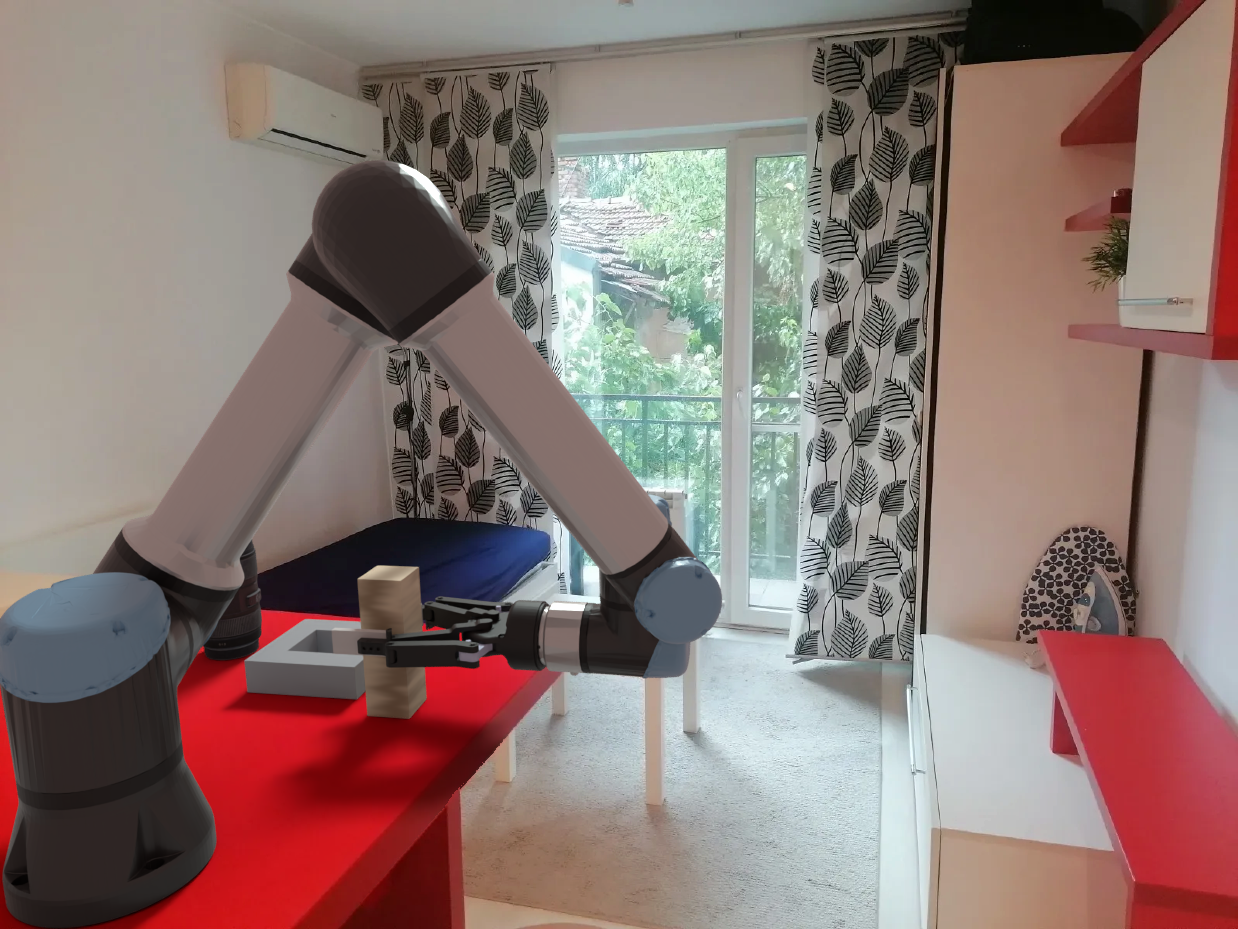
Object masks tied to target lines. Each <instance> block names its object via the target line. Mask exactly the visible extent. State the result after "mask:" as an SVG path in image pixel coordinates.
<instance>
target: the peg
mask: <svg viewBox="0 0 1238 929" xmlns="http://www.w3.org/2000/svg"><path fill="white" fill-rule="evenodd" d="M420 579H421V578H420V566H403V565H402V566H399V565H376V566H374V567H373V568H372V569H370V570H368V571H367V572H366V573H364V574H363V575H361V576H359V577H358V578H357V590H358V591H357V593H358V607H359V617H360V618H359V619H360V620H359V622H361V629H372V630H387V629H389V628H392V634H393V635H394V634H404V633H414V632H424V631H423V630H424V628H423V626H422V612H421V603H422V596H421V582H420V581H421V580H420ZM363 663H364V677H365V690H366V691H365V699H366V700H365V702H366V716H368V717H378V718H379V717H381V718H392V719H393V718H395V719H405V720H406V719H410V718H412V716H413V715H414V714H415V713H416V712H417V710H419V709H420V707H421V706H422V705H423V704H424V702H426V700H427V698H428V697H427V682H426V680H427V679H426V669H425V668H426V667H404V668H389V667H387V666H386V657H383V656H365V655H363Z"/></svg>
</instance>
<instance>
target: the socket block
mask: <svg viewBox="0 0 1238 929" xmlns="http://www.w3.org/2000/svg"><path fill="white" fill-rule="evenodd" d="M334 628H353V629H361V621H357V620H356V621H355V620H336V619H335V620H334V619H333V620H331V619H318V618H317V619H314V618H313V619H312V618H305V619H303V620H301V621H300V622H299V623H296V625H294V626H293V627H291V628H290V629H288V630H287V631H285V632H283V634H281V635H279V636H278V637H277V638H275V639H274V640H272V641H271V642H270V643H268V644H267V645H265V646H264V647H262V648H261V649H258V650H257V651H255V652H254V654H253V653H252V654H251V655H250V656H249V657H247V658H246V659H245V660H243V661H244V670H245V671H244V672H245V682H246V692H247V693H256V694H270V695H287V696H301V697H313V698H314V697H316V698H327V699H329V698H332V699H333V698H334V699H345V700H346V699H347V700H358V699H359V698H361V696H362V695H363V694H364V693H366V690H365V677H364V663H363V655H347V654H333V642H332V629H334Z"/></svg>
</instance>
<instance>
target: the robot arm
mask: <svg viewBox="0 0 1238 929" xmlns="http://www.w3.org/2000/svg"><path fill="white" fill-rule="evenodd" d="M324 185H325V184H324ZM311 232H312V233H311V234H310V236H309V238H308V239H307V241H306V242H305V243H304V245H303V247H302V248H301V250H300V251H299V253H298V254H297V256H296V258H295V259H294V261H293V262H292V264H291V265H290V266H289V269H288V270H287V271H286V278H287V283H288V286H289V290H290V291H289V292H290V300H289V302H288V303H287V305H286V306H285V308H284V309H283V311H282V313H281V314H280V316H279V318H278V319H277V321H276V322H275V323H274V325H273V327H272V328H271V330H270V331H269V333H268V335H267V336H266V338H265V339H264V341H263V342H262V344H261V345H260V347H259V348H258V350H257V352H256V353H255V355H254V356H253V357H252V359H251V361H250V363H249V364H248V365H247V367H246V368H245V370H244V372H243V373H242V375H241V376H240V378H239V380H238V381H237V383H236V384H235V386H234V387H233V389H232V390H231V392H230V393H229V395H228V396H227V398H226V400H225V401H224V402H223V404H222V405H221V408H220V409H219V411H218V412H217V413H216V415H215V417H214V418H213V419H212V421H211V423H210V424H209V425H208V426H209V427H208V428H207V429H206V430H205V431H204V434H203V436H202V437H201V439H200V440H199V441H198V443H197V445H196V446H195V448H194V449H193V451H192V452H191V454H190V455H189V457H188V458H187V459H186V462H185V464H183V467H182V468H181V469H180V471H179V472H178V474H177V476H176V477H175V479H174V480H173V481H172V483H171V485H170V487H169V488H168V490H167V491H166V492H165V494H164V495H163V497H162V499H161V500H160V502H159V503H158V505H157V506H156V508H155V510H154V511H153V513H151V514H150V515H145V516H139V517H137V518H132V519H129V520H127V521H126V522H125V523H124V524H123V527H122V528H121V530H120V531H119V532H118V535H117V536H116V537H115V539H114V540H113V542H112V544H111V545H110V547H109V548H108V549H107V551H106V552H105V554H104V556H103V557H102V559H100V561H99V563H98V565H97V567H96V568H95V569H94V571H93V573H92V574H85V575H81V576H79V575H78V576H75V577H71V578H65V579H62V580H59V581H57V582H53V583H51V585H50V587H44V588H37V589H36V590H34V591H32V592H29V593H27V594H26V595H23V596H22V597H21V598H19V599H18V600H16V601H15V602H14V603H12V604H11V605H10V606H9V607H8V608H7V609H6V610H5V611H4V612H3V614H2V615H1V616H0V695H1V701H2V708H3V712H4V718H5V724H6V732H7V737H8V742H9V749H10V755H11V756H10V757H11V759H12V760H11V761H12V766H13V773H14V779H15V786H16V793H17V799H18V806H17V808H16V810H17V811H16V814H15V818H14V823H13V827H12V832H11V834H10V839H9V843H8V847H7V852H6V856H5V861H4V864H3V868H2V886H3V891H4V892H3V893H4V898H5V906H6V908H7V910H8V912H9V913H10V914H11V916H13V917H14V918H15V919H16V920H18V921H20V922H22V923H24V924H27V925H31V926H34V927H39V928H40V927H41V928H45V929H47V928H48V929H49V928H50V929H65V928H66V929H67V928H69V929H70V928H76V927H77V928H78V927H86V926H90V925H96V924H100V923H104V922H108V921H111V920H115V919H118V918H122V917H124V916H127V915H131V914H132V913H136V912H137V911H141V910H143V909H145V908H147V907H149V906H151V905H153V904H155V903H157V902H159V901H161V900H163V899H165V898H166V897H169V896H170V895H171V894H173V893H175V892H176V891H178V890H180V889H182V887H184V886H185V885H186V884H188V883H189V882H190V881H191V880H192V879H194V878H195V877H196V876H197V875H198V874H199V873H200V872H201V871H202V870H203V869H204V868H205V866H206V865H207V864H208V863H209V861H210V859H211V858H212V857H213V855H214V852H215V850H216V847H217V831H216V824H215V822H216V821H215V817H214V816H215V814H214V813H213V809H212V807H211V805H210V803H209V802H208V799H207V798H206V797H205V794H204V793H203V791H202V789H201V787H200V784H199V783H198V781H197V779H196V778H195V776H194V774H193V772H192V770H191V768H190V767H189V765H188V764H187V762H186V759H185V755H184V746H183V738H182V730H181V728H182V727H181V720H180V711H179V703H178V686H179V684H180V683H181V682H182V679H183V678H184V676H185V675H186V673H187V671H188V670H189V668H190V667H191V665H192V663H193V661H194V659H196V657H197V655H198V653H199V652H200V651H201V650H202V648H204V647H203V645H204V644H205V643H206V642H207V641H208V639H209V638H210V636H211V635H212V633H213V631H214V630H215V628H216V626H217V623H218V621H219V619H220V618H221V616H222V615H223V613H224V612H225V610H226V609H227V607H228V605H229V604H230V602H231V601H232V599H233V598H234V596H235V594H236V593H237V591H238V589H239V588H240V586H241V585H242V583H243V581H244V573H243V570H242V567H241V564H240V557H241V555H242V553H243V552H244V550H245V549H246V547H247V546H248V544H249V543H250V541H251V540H252V541H253V538H254V537H255V535H256V533H257V531H258V530H259V529H260V527H261V526H262V524H263V522H264V521H265V520H266V518H267V517H268V515H269V513H270V512H271V510H272V508H273V507H274V506H275V504H276V503H277V501H278V499H279V498H280V496H282V495H281V494H282V493H283V492H284V490H285V489H286V487H287V485H288V484H289V483H290V481H291V479H292V478H293V477H294V475H295V473H296V472H297V470H298V469H299V467H300V465H302V463H303V461H304V459H305V458H306V456H307V455H308V453H309V451H310V450H311V449H312V447H313V445H315V442H316V440H317V439H318V438H319V436H320V435H321V434H322V432H323V430H324V429H325V427H326V426H327V423H328V422H329V421H330V420H331V417H332V416H333V415H334V413H335V411H336V410H337V408H338V407H339V405H340V404H341V402H342V401H343V399H344V398H345V397H346V394H347V393H348V391H349V390H350V388H351V387H352V386H353V384H354V382H355V381H356V379H357V378H358V376H359V374H361V372H362V370H363V368H364V367H365V366H366V364H367V362H368V361H369V360H370V358H371V356H372V355H373V353H374V352H375V351H377V350H379V349H383V348H387V347H392V346H397V345H399V346H400V347H401V348H406V349H407V348H408V349H414V350H417V351H420V352H421V353H422V354H423V356H424V357H426V359H427V360H428V362H429V363H430V364H431V365H432V366H433V368H434V369H435V370H436V372H438V374H439V375H440V377H442V379H443V380H444V381H445V382H446V383H447V385H449V386H448V387H449V388H451V390H452V391H453V392H454V393H455V394H456V396H457V397H458V398H459V400H460V401H461V402H462V403H463V404H464V405H465V407H467V409H468V410H469V412H470V413H471V414H472V415H473V416H474V417H475V419H476V420H477V421H478V422H479V423H480V425H481V426H482V427H483V428H484V430H485V431H486V432H487V434H488V435H489V436H490V437H491V438H492V440H493V441H494V442H495V443H496V444H497V446H498V447H499V448H500V450H502V452H503V453H504V455H506V457H507V458H508V460H510V462H512V464H513V465H514V466H515V468H516V469H517V470H518V471H519V473H520V474H521V475H522V476H523V478H525V480H526V482H528V483H529V485H530V486H531V487H532V488H533V490H534V491H535V492H536V493H537V494H538V495H539V498H540V499H542V500H543V502H544V503H545V504H546V505H547V507H548V508H549V509H550V510H551V512H553V514H554V515H555V516H556V518H557V519H558V520H559V522H560V523H561V524H562V525H563V527H565V529H566V531H568V532H569V533H570V535H571V536H572V537H573V538H574V540H575V541H576V542H577V543H578V544H579V545H580V547H581V548H582V549H583V550H584V552H585V554H586V555H588V557H589V559H591V561H592V562H593V563H594V564H595V566H597V568H598V569H599V571H598V572H599V601H600V602H599V603H595V602H588V601H587V602H584V601H567V600H564V601H561V600H554V601H552V602H551V604H549V603H548V602H546V601H545V600H529V599H527V600H526V599H525V600H524V599H519V600H516V601H515V602H512V601H496V602H495V601H494V602H493V601H486V600H477V599H468V598H458V597H449V596H437V597H435V598H434V599H435V600H434V601H432V600H430V601H429V600H428V601H426V602H424V604H423V603H422V602H421V612H422V627H423V626H424V622H425V631H423V632H414V633H404V634H394V635H393V634H392V628H389V629H387V630H372V629H353V628H334V629H332V642H333V654H347V655H365V656H383V657H386V666H387V667H389V668H404V667H425V668H450V667H451V668H453V667H454V668H464V669H470V670H471V669H472V670H475V669H478V668H480V667H481V665H480V659H481V658H489V657H494V656H503V657H504V658H505V660H506V662H507V665H508V666H509V668H511V669H513V670H515V671H516V670H517V671H532V672H534V671H535V672H542V671H543V670H544V669H545V668H547V670H548V671H549V672H557V673H559V672H560V673H570V675H571V676H574V677H575V676H578V675H579V674H590V675H591V674H594V675H597V674H598V675H610V676H611V675H612V676H621V677H622V676H623V677H634V678H636V677H637V678H642V679H654V678H655V679H667V678H679V677H682V676H683V675H684V674H685V673H686V672H687V670H688V667H689V663H690V655H691V643H692V642H694V641H697V640H699V639H701V638H702V637H703V636H705V635H706V634H707V632H709V631H711V629H712V628H713V627H714V626H715V624H716V623H717V621H718V620H719V617H720V614H721V612H722V606H723V594H722V589H721V587H720V583H719V581H718V580H717V578H716V577H715V576H714V574H713V573H712V571H711V569H710V568H709V567H708V566H707V564H706V562H703V561H702V560H700V559H698V558H697V556H696V555H695V554H694V553H693V551H691V549H690V548H689V546H688V545H687V543H685V541H684V540H683V539H682V537H681V536H680V535H679V534H678V532H677V530H675V528H674V527H673V522H672V520H671V512H670V511H671V510H670V505H669V503H668V502H669V501H667V500H666V499H665V498H663V497H661V496H659V495H656V494H655V495H654V494H650V493H649V494H648V493H647V491H646V490H645V489H644V487H643V486H642V485H641V484H640V482H639V481H638V479H637V478H636V477H635V476H634V475H633V473H632V472H631V471H630V469H629V468H628V467H627V466H626V464H625V463H624V461H623V460H622V459H621V457H620V456H619V455H618V454H617V452H616V451H615V450H614V448H613V447H612V446H611V445H610V443H609V442H608V440H606V439H607V438H605V437H604V435H603V434H602V432H601V431H600V430H599V429H598V428H597V426H596V425H595V424H594V422H593V421H592V419H590V417H589V416H588V415H587V413H586V412H585V410H584V409H583V408H582V407H581V406H580V404H579V403H578V402H577V400H576V399H575V398H574V396H573V395H572V394H571V392H570V391H569V389H567V387H566V386H565V384H564V383H563V381H561V380H560V378H559V377H558V376H557V374H556V373H555V372H554V371H553V369H552V368H551V366H550V365H549V364H548V363H547V361H546V360H545V359H544V358H543V355H541V354H540V352H539V350H538V349H537V348H536V347H535V346H534V344H533V343H532V342H531V340H530V339H529V338H528V336H526V334H525V333H524V332H523V330H522V329H521V327H520V326H519V325H518V324H517V322H516V321H515V320H514V318H513V317H512V316H511V314H510V313H509V312H508V311H507V308H505V307H504V305H503V304H502V303H501V301H499V298H497V296H496V295H495V293H494V283H495V273H494V272H493V271H492V269H491V268H490V267H489V265H488V264H487V263H486V262H485V260H484V259H483V257H482V256H481V254H479V252H478V250H477V249H476V247H475V245H473V243H472V242H471V240H470V239H469V237H468V236H467V234H466V232H465V230H464V229H463V228H462V225H461V224H460V223H459V221H458V218H457V217H456V215H455V213H454V212H453V210H452V208H451V206H450V205H449V202H448V201H447V200H446V198H445V196H444V195H443V194H442V192H441V190H440V189H439V188H438V187H437V186H436V185H435V184H434V183H433V182H432V181H431V180H430V179H429V177H427V176H426V175H424V174H423V173H421V172H420V171H418V169H415V168H413V167H411V166H408V165H406V164H403V163H401V162H396V161H391V160H386V159H384V160H383V159H374V160H373V159H372V160H364V161H361V162H357V163H354V164H352V165H350V166H348V167H346V168H344V169H342V170H341V171H338V172H337V173H336V174H335V175H334V176H333V177H332V178H331V179H330V180H329V181H328V182H327V183H326V185H325V186H324V187H323V189H322V190H321V192H320V194H319V195H318V197H317V199H316V202H315V206H314V208H313V212H312V219H311ZM433 628H439V629H437V630H436V629H435V630H431V629H433ZM460 637H461V639H460Z"/></svg>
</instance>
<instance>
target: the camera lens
mask: <svg viewBox="0 0 1238 929" xmlns="http://www.w3.org/2000/svg"><path fill="white" fill-rule="evenodd" d="M240 564H241V567H242V570H243V573H244V581H243V583H242V585H241V586H240V588H239V589H238V591H237V593H236V594H235V596H234V598H233V599H232V601H231V602H230V604H229V605H228V607H227V609H226V610H225V612H224V613H223V615H222V616H221V618H220V619H219V621H218V623H217V626H216V628H215V630H214V631H213V633H212V635H211V636H210V638H209V639H208V641H207V642H206V643H205V644H204V645H203V647H202V648H203V652H204V656H205V657H206V658H208V659H210V660H216V661H229V660H235V659H236V660H237V659H240V658H244V657H247V656H249V655H250V656H251V655H253V653H256V652H257V651H258V650H259V647H260V640H259V639H260V638H261V637H262V634H263V633H262V624H263V618H262V609H261V605H260V601H261V600H262V591H261V587H260V588H259V586H258V578H259V576H258V559H257V552H256V548H255V545H254V541H253V539H252V540H251V541H250V543H249V544H248V546H247V547H246V549H245V550H244V552H243V553H242V555H241V557H240Z"/></svg>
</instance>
